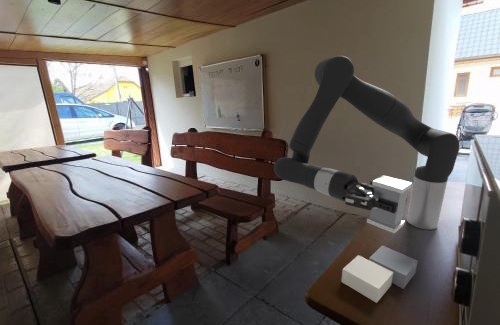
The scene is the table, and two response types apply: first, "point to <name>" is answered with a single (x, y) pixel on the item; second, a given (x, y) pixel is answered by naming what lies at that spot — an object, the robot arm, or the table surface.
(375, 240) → the table surface
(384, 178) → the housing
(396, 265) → the stand
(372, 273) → the stand
